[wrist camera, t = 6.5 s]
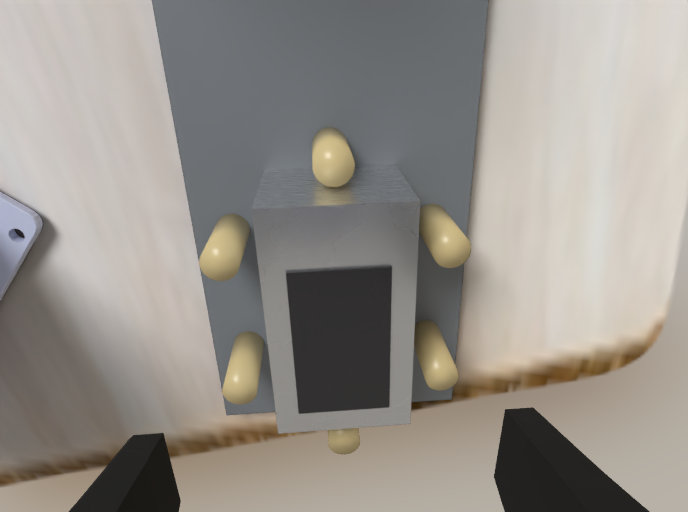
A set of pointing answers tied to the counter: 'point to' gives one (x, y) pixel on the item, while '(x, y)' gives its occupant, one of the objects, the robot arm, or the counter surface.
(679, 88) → the counter surface
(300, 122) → the flat grey base plate
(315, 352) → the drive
